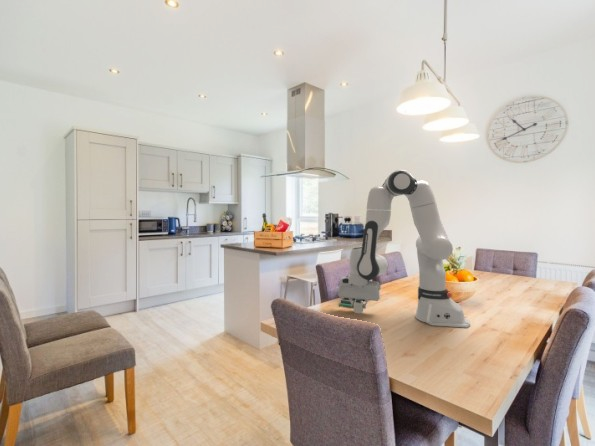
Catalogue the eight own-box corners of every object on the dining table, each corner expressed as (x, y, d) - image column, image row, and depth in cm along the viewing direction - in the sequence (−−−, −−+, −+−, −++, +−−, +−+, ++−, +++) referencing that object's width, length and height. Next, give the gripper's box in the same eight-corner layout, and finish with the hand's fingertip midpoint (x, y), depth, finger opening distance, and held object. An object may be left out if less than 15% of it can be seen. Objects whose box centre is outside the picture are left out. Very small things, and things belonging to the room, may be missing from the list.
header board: (362, 302, 168) (362, 296, 168) (358, 308, 157) (358, 302, 157) (344, 300, 172) (344, 294, 172) (339, 306, 161) (339, 300, 161)
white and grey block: (363, 311, 153) (363, 300, 153) (361, 314, 149) (361, 302, 149) (355, 310, 155) (355, 299, 155) (353, 313, 151) (353, 301, 150)
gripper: (381, 280, 151) (381, 308, 151) (340, 276, 158) (340, 303, 159) (379, 282, 145) (379, 312, 145) (337, 279, 152) (336, 307, 153)
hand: (358, 307), depth 152 cm, fingers closed on white and grey block, 4 cm apart
